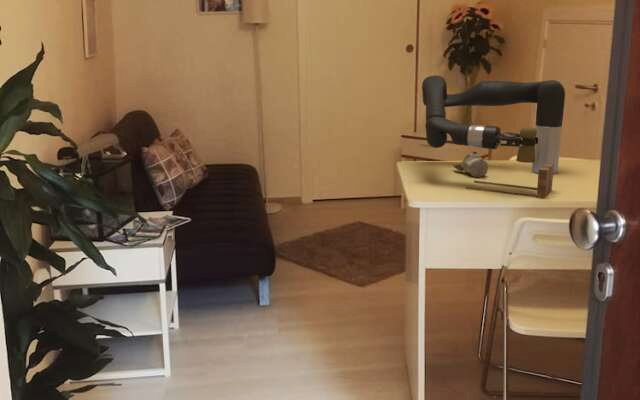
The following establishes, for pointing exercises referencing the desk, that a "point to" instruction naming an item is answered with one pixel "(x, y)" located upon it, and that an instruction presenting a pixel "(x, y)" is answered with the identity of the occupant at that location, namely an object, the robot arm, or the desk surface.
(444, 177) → the desk surface
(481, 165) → the ceramic sculpture
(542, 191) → the lane
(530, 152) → the cork
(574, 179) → the desk surface
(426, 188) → the desk surface
